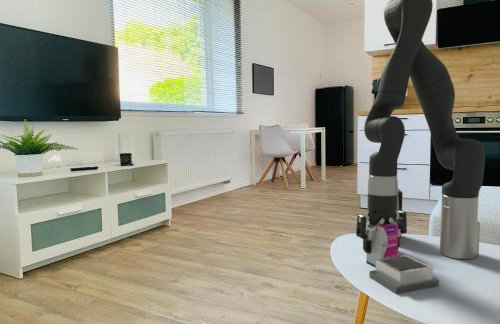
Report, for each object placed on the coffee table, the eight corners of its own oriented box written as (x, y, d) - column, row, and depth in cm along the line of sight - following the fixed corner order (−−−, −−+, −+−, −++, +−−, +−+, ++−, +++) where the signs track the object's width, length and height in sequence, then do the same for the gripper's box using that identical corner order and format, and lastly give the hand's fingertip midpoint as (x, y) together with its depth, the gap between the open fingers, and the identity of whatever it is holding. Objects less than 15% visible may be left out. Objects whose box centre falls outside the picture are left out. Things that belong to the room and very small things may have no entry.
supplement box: (380, 270, 101) (381, 227, 100) (365, 262, 107) (366, 221, 105) (397, 266, 104) (398, 224, 102) (382, 259, 109) (382, 219, 108)
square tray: (409, 270, 101) (409, 253, 100) (438, 285, 91) (439, 267, 91) (369, 277, 97) (369, 259, 97) (395, 293, 88) (396, 274, 87)
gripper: (395, 187, 109) (394, 244, 110) (351, 191, 104) (350, 249, 106) (414, 192, 102) (412, 252, 103) (367, 196, 97) (366, 259, 99)
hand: (381, 251), depth 105 cm, fingers open, 8 cm apart
